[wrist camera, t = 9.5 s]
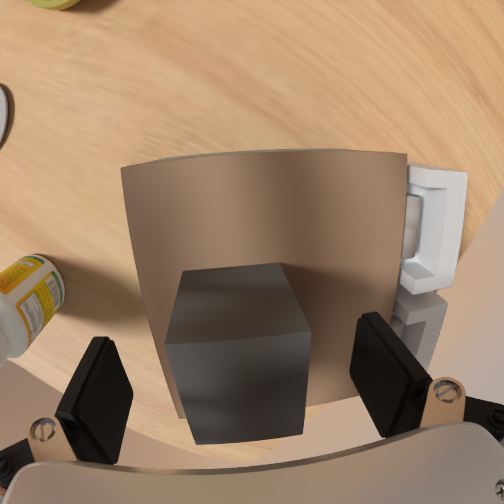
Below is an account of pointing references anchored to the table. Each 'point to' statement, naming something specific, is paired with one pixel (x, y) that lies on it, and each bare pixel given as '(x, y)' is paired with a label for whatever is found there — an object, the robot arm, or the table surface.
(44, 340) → the table surface
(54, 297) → the supplement bottle
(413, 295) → the cabinet
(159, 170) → the door
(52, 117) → the table surface
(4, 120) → the bracket
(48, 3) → the plastic component
